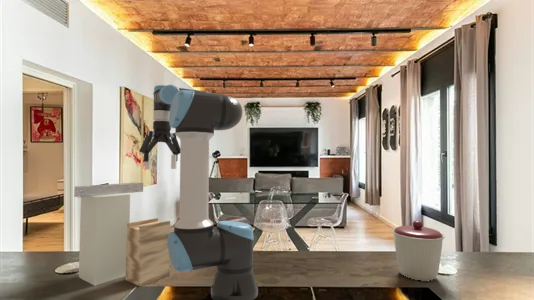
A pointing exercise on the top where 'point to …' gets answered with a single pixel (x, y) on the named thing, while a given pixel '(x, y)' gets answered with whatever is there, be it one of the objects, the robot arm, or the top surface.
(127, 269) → the light brown boxy piece
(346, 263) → the top surface
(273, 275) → the top surface
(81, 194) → the rail
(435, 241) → the canister
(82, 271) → the unit
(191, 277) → the top surface
